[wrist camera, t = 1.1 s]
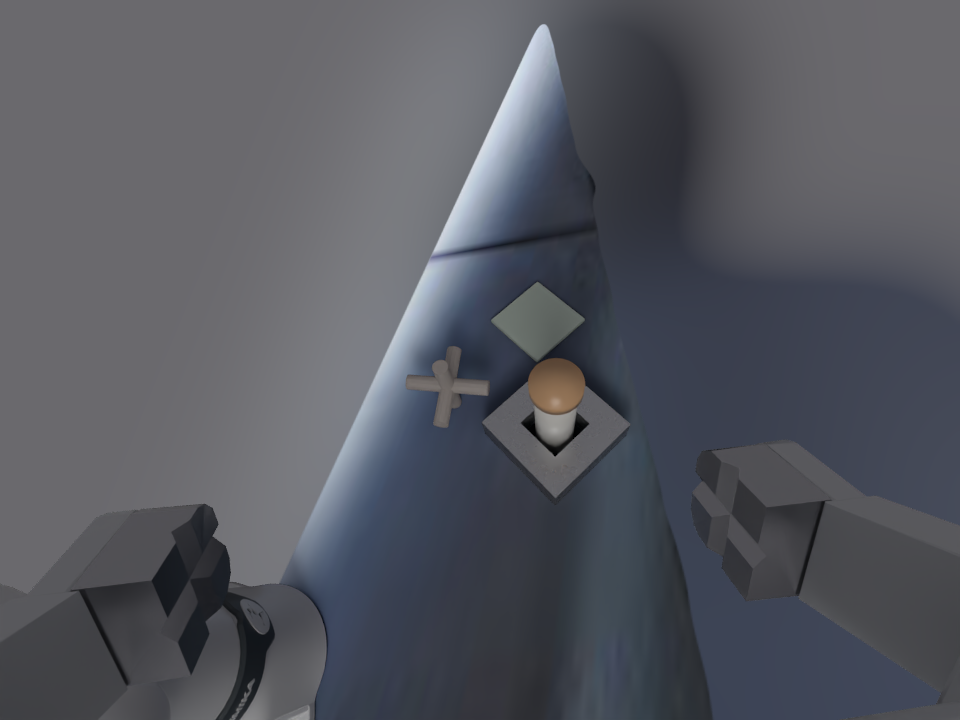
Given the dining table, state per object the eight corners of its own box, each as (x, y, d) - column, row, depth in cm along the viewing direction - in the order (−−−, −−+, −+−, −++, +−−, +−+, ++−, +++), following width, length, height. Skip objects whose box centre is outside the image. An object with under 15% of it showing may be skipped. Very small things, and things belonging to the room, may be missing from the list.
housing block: (555, 505, 57) (555, 498, 53) (485, 433, 62) (481, 422, 58) (625, 435, 59) (630, 424, 56) (553, 372, 65) (553, 358, 61)
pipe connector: (424, 365, 67) (406, 326, 59) (497, 370, 66) (489, 331, 57) (409, 435, 63) (387, 404, 54) (487, 442, 61) (477, 412, 52)
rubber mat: (537, 362, 65) (537, 360, 65) (491, 322, 69) (491, 320, 69) (584, 321, 68) (584, 318, 67) (537, 284, 71) (537, 281, 71)
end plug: (554, 465, 59) (556, 420, 46) (522, 434, 61) (516, 382, 48) (586, 435, 60) (597, 383, 47) (553, 405, 62) (555, 348, 49)
